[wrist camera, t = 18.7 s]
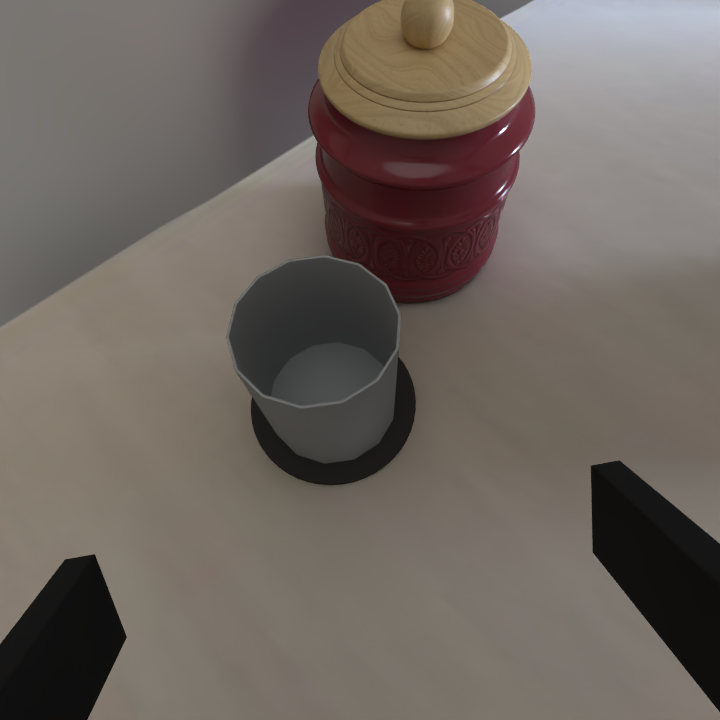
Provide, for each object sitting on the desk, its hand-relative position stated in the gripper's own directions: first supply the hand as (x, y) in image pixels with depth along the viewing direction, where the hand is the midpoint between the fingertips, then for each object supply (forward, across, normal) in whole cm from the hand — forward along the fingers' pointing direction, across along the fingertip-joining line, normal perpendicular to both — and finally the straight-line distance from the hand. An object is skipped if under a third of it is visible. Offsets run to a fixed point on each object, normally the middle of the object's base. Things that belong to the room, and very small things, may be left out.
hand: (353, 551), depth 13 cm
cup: (+19, -1, -3) cm, 20 cm away
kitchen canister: (+28, +7, +6) cm, 30 cm away
